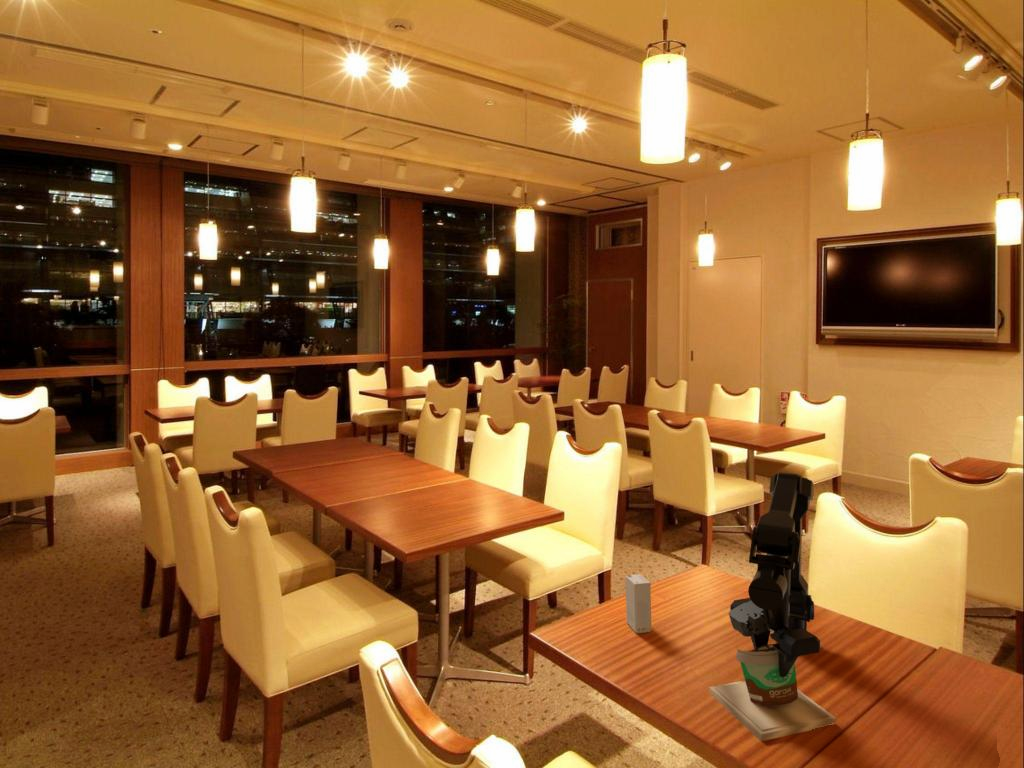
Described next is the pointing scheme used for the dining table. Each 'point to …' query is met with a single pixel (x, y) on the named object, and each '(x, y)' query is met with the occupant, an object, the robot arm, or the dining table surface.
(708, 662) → the dining table surface
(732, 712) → the serving board
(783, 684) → the food container
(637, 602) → the skincare box
